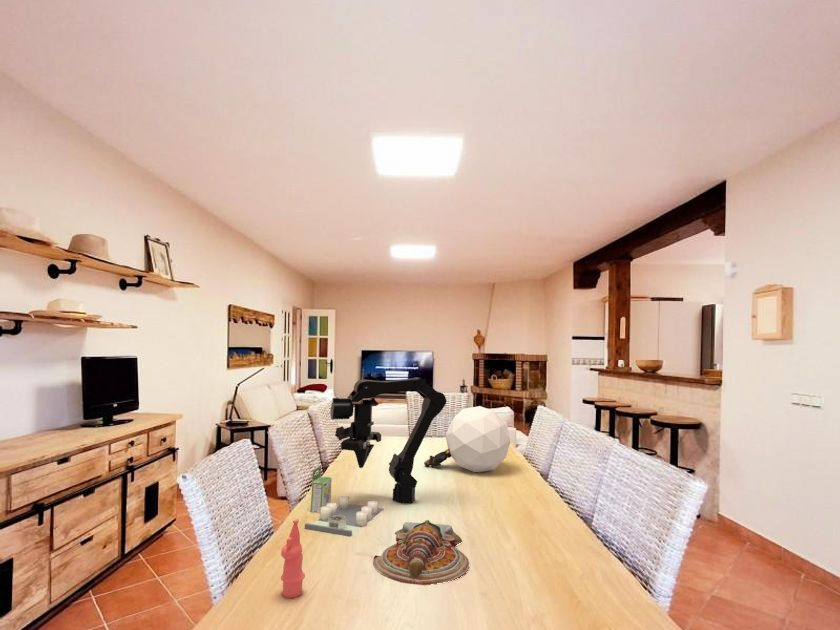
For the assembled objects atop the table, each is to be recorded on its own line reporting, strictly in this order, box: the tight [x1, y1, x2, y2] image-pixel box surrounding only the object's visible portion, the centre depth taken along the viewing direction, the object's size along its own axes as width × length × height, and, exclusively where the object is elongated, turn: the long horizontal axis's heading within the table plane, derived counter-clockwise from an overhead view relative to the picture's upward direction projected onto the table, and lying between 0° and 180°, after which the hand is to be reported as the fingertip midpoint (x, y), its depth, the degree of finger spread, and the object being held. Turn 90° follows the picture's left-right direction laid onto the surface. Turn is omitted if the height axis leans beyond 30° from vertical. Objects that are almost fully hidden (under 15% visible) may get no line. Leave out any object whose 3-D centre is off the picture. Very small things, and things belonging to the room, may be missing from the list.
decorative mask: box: [372, 519, 470, 586], centre depth 121 cm, size 24×8×30 cm
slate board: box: [304, 503, 385, 537], centre depth 143 cm, size 14×24×2 cm, turn 162°
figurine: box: [280, 518, 306, 599], centre depth 102 cm, size 5×5×15 cm
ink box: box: [310, 465, 333, 514], centre depth 150 cm, size 7×4×13 cm, turn 168°
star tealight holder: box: [328, 515, 346, 529], centre depth 136 cm, size 5×5×2 cm
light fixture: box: [423, 405, 511, 473], centre depth 208 cm, size 27×40×28 cm
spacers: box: [319, 495, 378, 528], centre depth 145 cm, size 14×14×3 cm
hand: (361, 467), depth 156 cm, fingers closed
